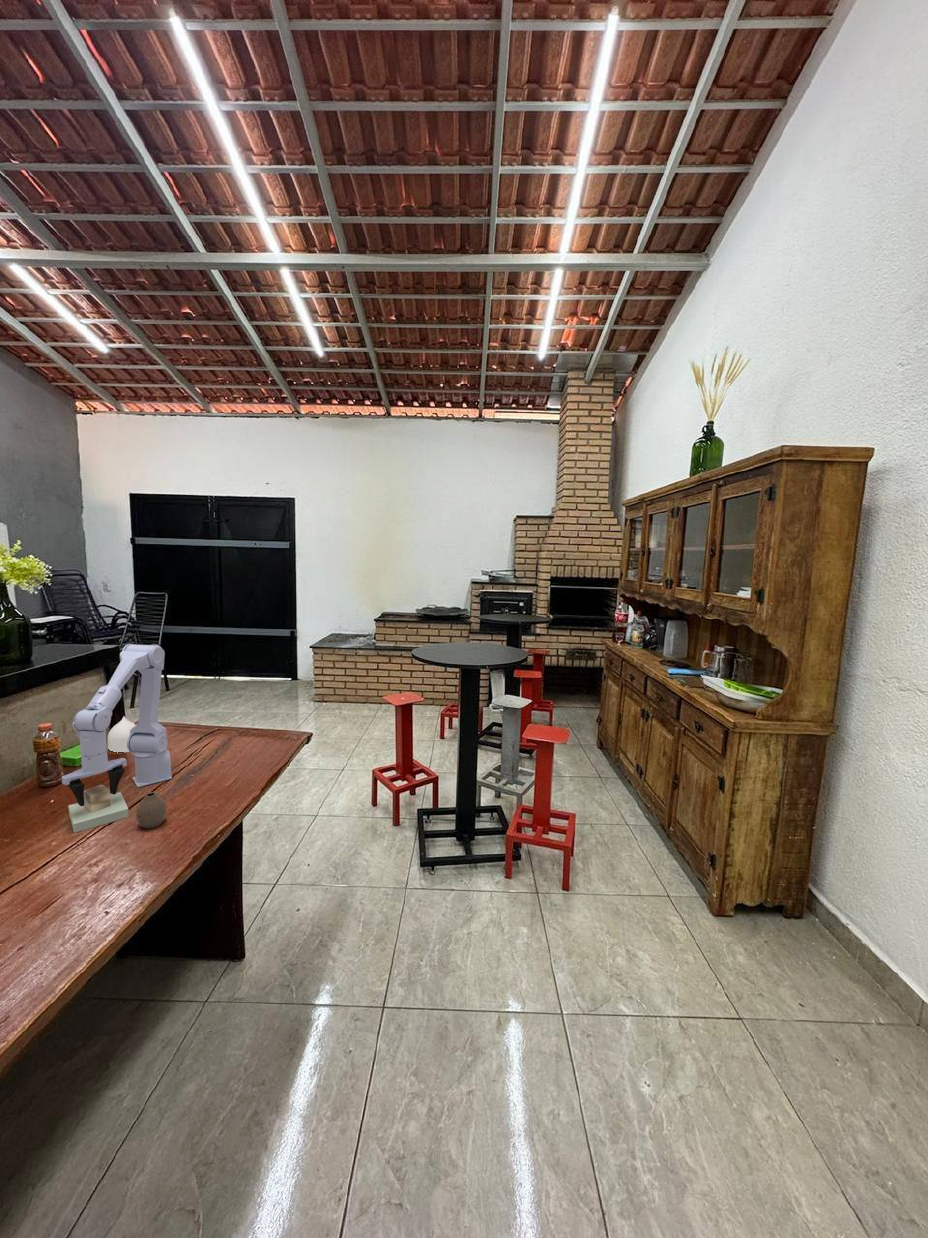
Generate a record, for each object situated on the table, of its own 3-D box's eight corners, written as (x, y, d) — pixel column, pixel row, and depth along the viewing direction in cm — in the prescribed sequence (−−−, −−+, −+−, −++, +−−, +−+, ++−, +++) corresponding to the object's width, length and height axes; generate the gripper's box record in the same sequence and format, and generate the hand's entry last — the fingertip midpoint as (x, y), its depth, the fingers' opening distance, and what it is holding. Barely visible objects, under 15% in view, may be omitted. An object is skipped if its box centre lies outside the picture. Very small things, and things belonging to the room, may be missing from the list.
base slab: (121, 800, 144) (120, 792, 144) (128, 817, 135) (128, 808, 135) (69, 814, 136) (68, 805, 135) (73, 833, 127) (73, 824, 127)
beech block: (102, 801, 138) (101, 784, 138) (110, 805, 136) (109, 788, 135) (84, 807, 135) (82, 790, 134) (91, 812, 132) (90, 795, 132)
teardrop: (150, 743, 184) (149, 713, 182) (122, 755, 173) (120, 723, 172) (129, 739, 187) (127, 709, 185) (99, 750, 177) (97, 718, 175)
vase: (173, 820, 134) (171, 790, 133) (149, 834, 128) (148, 803, 127) (154, 815, 137) (152, 786, 135) (130, 828, 130) (128, 797, 129)
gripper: (117, 740, 141) (120, 784, 143) (55, 757, 129) (59, 805, 131) (129, 746, 137) (132, 791, 139) (66, 764, 125) (70, 814, 127)
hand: (97, 799), depth 135 cm, fingers open, 7 cm apart
